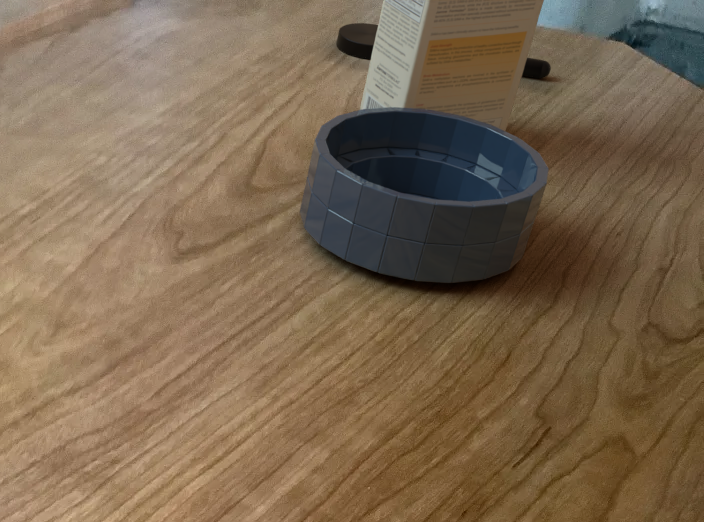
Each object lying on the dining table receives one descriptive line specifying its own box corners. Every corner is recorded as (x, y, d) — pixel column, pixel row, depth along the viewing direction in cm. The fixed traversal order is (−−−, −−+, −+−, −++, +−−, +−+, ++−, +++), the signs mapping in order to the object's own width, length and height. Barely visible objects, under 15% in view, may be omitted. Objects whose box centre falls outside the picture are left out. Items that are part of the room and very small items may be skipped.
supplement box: (460, 117, 91) (519, -94, 83) (503, 148, 88) (568, -69, 79) (350, 128, 89) (398, -87, 81) (389, 161, 86) (444, -61, 77)
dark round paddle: (549, 68, 99) (554, 51, 98) (545, 90, 96) (551, 73, 95) (341, 32, 102) (345, 16, 102) (331, 52, 99) (334, 36, 98)
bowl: (404, 172, 85) (424, 92, 81) (566, 258, 77) (596, 174, 74) (253, 216, 79) (269, 132, 76) (413, 314, 72) (437, 226, 68)
